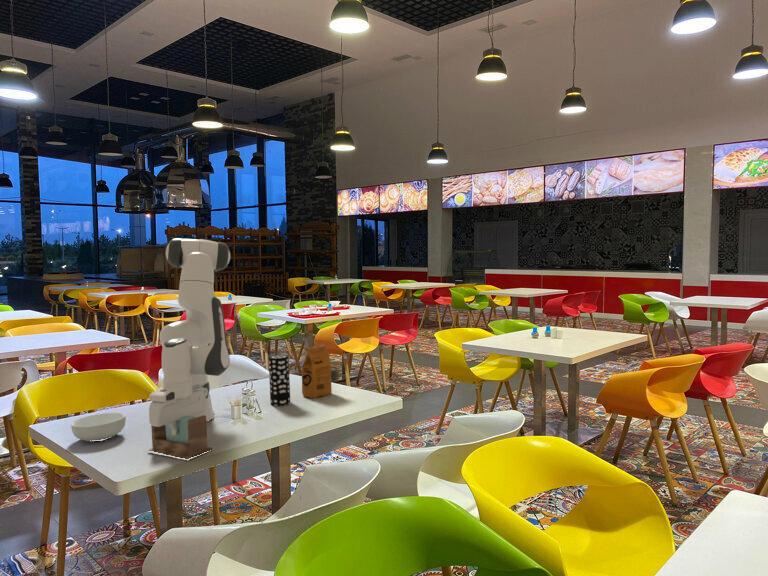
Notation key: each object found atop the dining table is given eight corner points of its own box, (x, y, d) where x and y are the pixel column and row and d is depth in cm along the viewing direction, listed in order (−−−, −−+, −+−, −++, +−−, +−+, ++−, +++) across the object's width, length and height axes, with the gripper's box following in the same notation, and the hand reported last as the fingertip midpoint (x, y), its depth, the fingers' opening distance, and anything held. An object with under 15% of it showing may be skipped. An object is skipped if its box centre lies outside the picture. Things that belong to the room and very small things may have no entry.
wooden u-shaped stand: (148, 453, 177) (145, 416, 176) (173, 443, 185) (171, 408, 185) (187, 461, 168) (185, 422, 167) (212, 450, 177) (210, 414, 176)
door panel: (166, 442, 178) (164, 415, 178) (172, 440, 180) (171, 413, 180) (190, 447, 173) (189, 418, 172) (197, 444, 175) (195, 416, 175)
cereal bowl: (114, 428, 205) (112, 409, 205) (135, 436, 194) (133, 417, 194) (64, 440, 192) (63, 420, 192) (84, 450, 181) (82, 429, 181)
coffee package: (299, 396, 245) (297, 347, 244) (320, 390, 254) (318, 343, 253) (313, 399, 238) (311, 349, 237) (334, 393, 247) (333, 345, 246)
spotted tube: (266, 405, 230) (264, 358, 229) (276, 400, 238) (274, 354, 237) (284, 406, 228) (282, 358, 227) (293, 401, 236) (292, 355, 235)
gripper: (196, 382, 186) (198, 422, 187) (144, 396, 168) (147, 440, 169) (209, 383, 183) (211, 424, 184) (158, 398, 165) (161, 443, 166)
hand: (180, 432), depth 176 cm, fingers closed on door panel, 2 cm apart
